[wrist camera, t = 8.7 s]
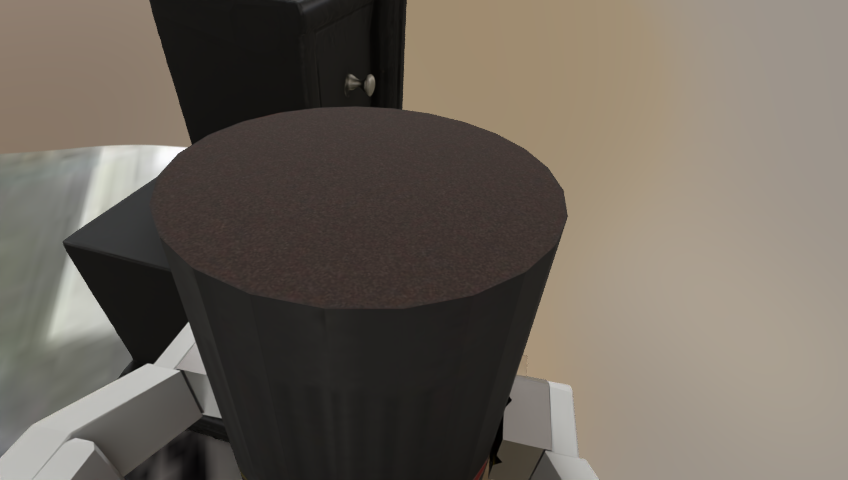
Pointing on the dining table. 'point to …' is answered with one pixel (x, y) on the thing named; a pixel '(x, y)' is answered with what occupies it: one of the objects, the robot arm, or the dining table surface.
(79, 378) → the dining table surface
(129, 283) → the bookend
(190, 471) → the dining table surface
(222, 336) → the deodorant
